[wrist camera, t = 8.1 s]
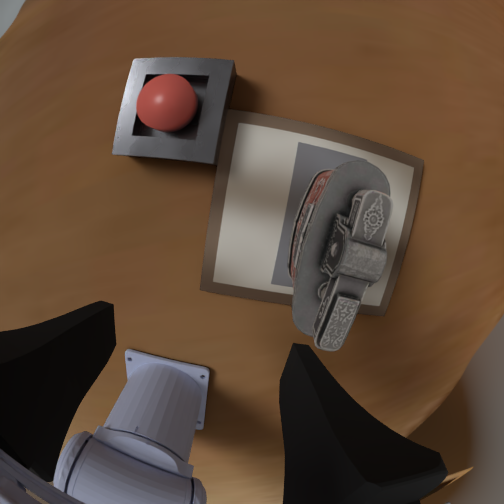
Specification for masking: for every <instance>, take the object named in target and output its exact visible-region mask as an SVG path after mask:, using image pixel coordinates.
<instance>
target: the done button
mask: <svg viewBox="0 0 504 504" xmlns="http://www.w3.org/2000/svg"><path fill="white" fill-rule="evenodd" d="M197 109H198V97H197V94H196V92H195V91H194V89H193V88H192V86H191V85H190V84H189V82H188V81H187V80H186V79H184V78H183V77H181V76H179V75H176V74H164V75H160V76H157V77H155V78H153V79H152V80H150V81H149V82H148V83H147V84H146V85H145V86H144V87H143V88H142V90H141V91H140V93H139V95H138V98H137V102H136V110H137V114H138V117H139V118H140V120H141V121H142V122H143V123H144V124H145V125H147V126H149V127H151V128H154V129H156V130H158V131H161V132H167V133H169V132H175V131H178V130H180V129H182V128H184V127H186V126H187V125H188V124H189V123H190V122H191V121H192V120H193V118H194V117H195V115H196V113H197Z"/></svg>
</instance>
